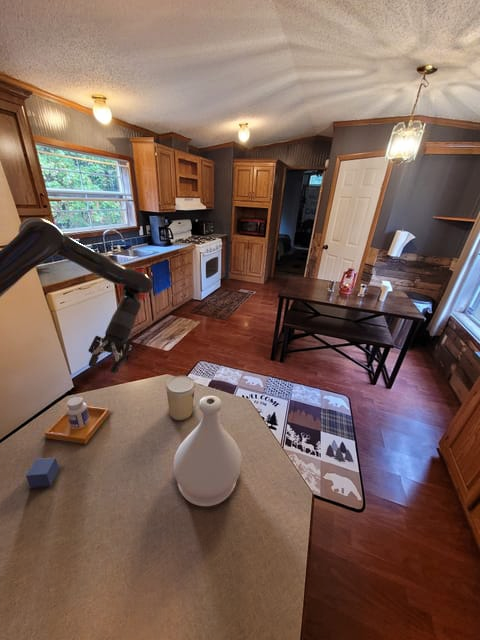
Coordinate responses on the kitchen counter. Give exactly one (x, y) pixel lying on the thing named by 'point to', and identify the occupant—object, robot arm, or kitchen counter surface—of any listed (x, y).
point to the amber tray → (66, 433)
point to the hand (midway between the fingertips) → (101, 369)
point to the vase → (207, 459)
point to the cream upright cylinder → (180, 396)
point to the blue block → (42, 472)
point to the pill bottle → (77, 413)
